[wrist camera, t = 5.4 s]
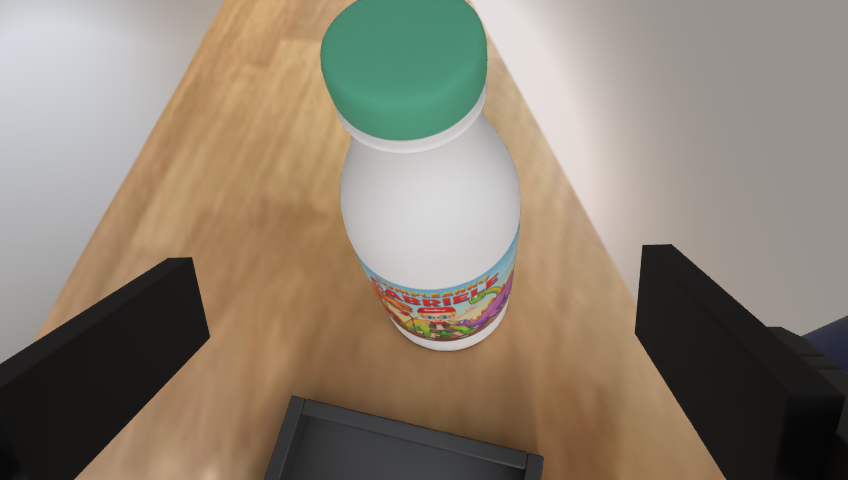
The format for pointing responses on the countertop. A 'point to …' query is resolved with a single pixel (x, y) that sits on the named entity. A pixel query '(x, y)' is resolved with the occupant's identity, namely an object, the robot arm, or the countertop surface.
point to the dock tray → (384, 450)
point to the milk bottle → (424, 167)
